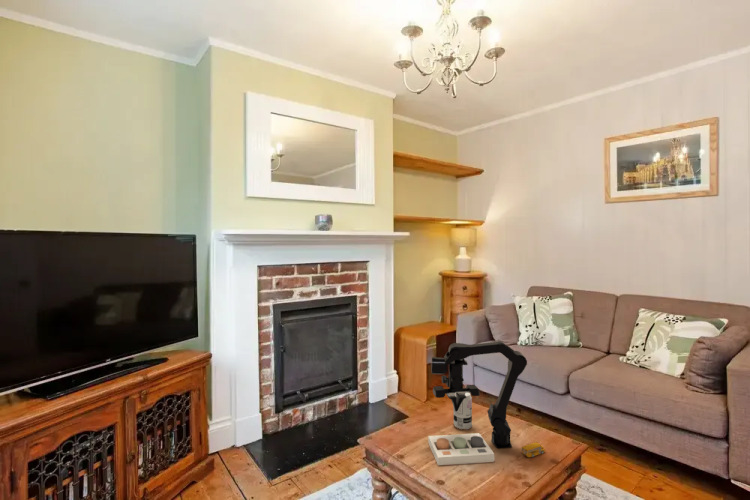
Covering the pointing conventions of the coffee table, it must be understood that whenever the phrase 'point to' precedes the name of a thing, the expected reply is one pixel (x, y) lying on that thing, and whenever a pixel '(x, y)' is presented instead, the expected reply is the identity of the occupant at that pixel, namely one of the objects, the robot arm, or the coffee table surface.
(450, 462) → the panel
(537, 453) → the toy bus
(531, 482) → the coffee table surface
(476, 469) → the coffee table surface
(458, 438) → the sage button
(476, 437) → the charcoal button
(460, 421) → the supplement can
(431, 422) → the coffee table surface
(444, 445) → the rust button
